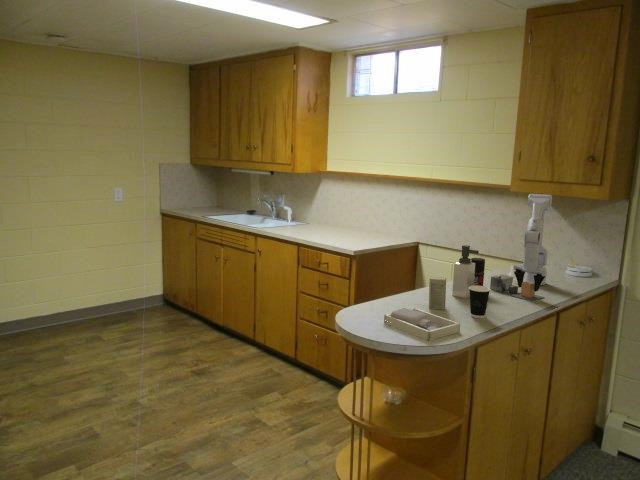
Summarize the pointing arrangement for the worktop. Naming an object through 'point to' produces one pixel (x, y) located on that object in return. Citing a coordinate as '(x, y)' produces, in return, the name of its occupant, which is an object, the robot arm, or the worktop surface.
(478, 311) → the dixie cup
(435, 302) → the skincare box
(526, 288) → the block
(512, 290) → the black knob
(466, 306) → the worktop surface
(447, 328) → the tray
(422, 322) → the charger
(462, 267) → the soap dispenser
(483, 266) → the deodorant
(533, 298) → the rubber mat
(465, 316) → the worktop surface
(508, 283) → the junction box
